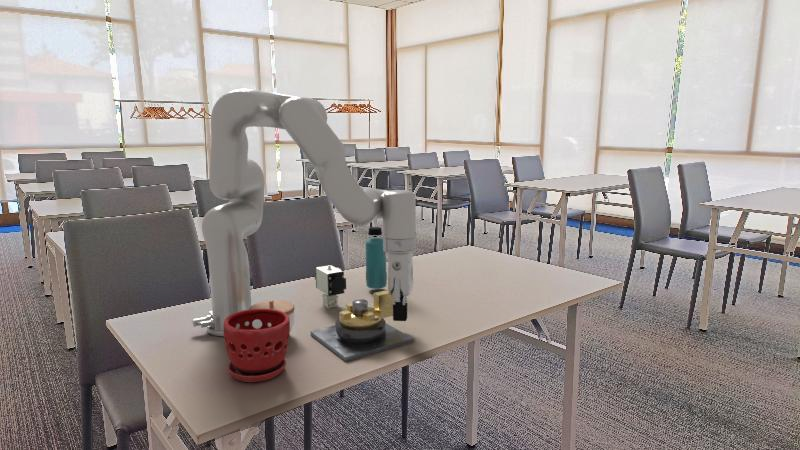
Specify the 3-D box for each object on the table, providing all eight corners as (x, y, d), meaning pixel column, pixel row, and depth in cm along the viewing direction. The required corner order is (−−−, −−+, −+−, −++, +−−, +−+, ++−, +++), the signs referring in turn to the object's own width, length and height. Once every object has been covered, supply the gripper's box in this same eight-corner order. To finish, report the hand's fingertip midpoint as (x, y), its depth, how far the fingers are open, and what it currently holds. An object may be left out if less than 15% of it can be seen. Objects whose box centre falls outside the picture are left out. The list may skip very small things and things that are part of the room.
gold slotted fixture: (352, 333, 118) (351, 307, 117) (332, 319, 126) (331, 296, 125) (413, 317, 127) (413, 293, 126) (390, 306, 135) (390, 283, 134)
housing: (345, 361, 113) (345, 344, 112) (309, 334, 128) (309, 319, 127) (412, 342, 123) (412, 326, 122) (372, 319, 138) (371, 304, 137)
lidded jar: (304, 337, 126) (302, 300, 125) (264, 350, 119) (262, 311, 117) (280, 325, 134) (278, 290, 132) (242, 337, 127) (239, 300, 125)
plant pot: (239, 394, 99) (235, 335, 97) (218, 369, 110) (214, 315, 108) (302, 375, 107) (300, 320, 105) (276, 353, 117) (274, 302, 115)
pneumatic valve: (331, 314, 142) (330, 271, 140) (314, 302, 152) (313, 262, 150) (349, 310, 145) (348, 268, 143) (332, 298, 155) (330, 259, 152)
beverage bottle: (390, 292, 161) (389, 228, 157) (369, 294, 158) (368, 230, 154) (382, 286, 167) (382, 224, 163) (363, 288, 164) (361, 226, 160)
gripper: (412, 252, 112) (412, 332, 115) (418, 237, 126) (419, 309, 130) (377, 251, 113) (379, 331, 116) (388, 237, 127) (389, 308, 131)
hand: (400, 319), depth 123 cm, fingers closed
